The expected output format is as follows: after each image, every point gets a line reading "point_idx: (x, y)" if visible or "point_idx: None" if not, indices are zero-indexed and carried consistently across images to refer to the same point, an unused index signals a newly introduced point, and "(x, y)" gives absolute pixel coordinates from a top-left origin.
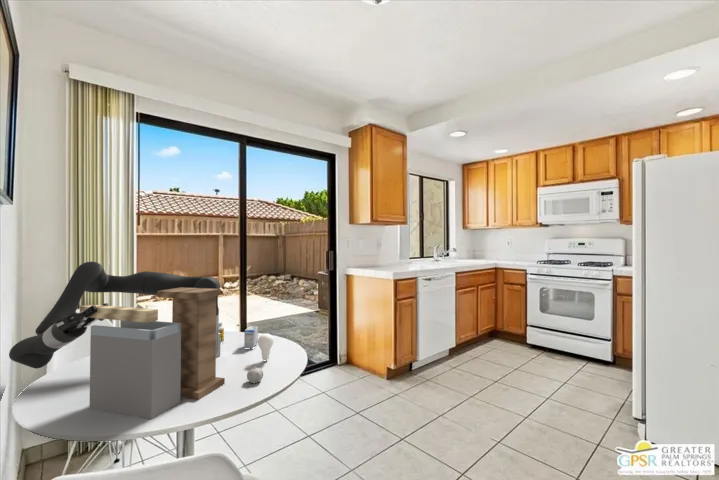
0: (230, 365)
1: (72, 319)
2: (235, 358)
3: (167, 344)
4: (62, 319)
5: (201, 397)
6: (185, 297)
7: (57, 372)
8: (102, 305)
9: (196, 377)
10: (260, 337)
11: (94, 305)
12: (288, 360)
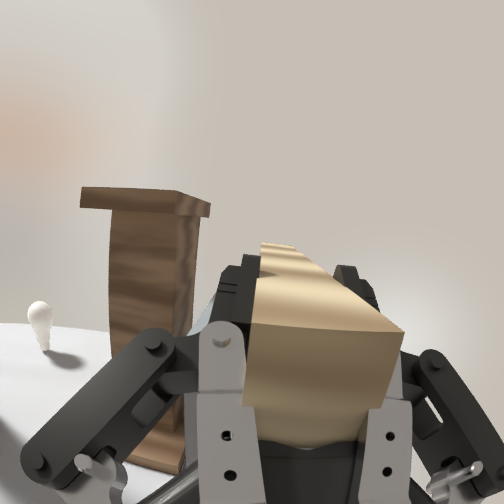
0: (42, 384)
1: (410, 480)
2: (6, 377)
3: None
4: (488, 431)
5: None
6: (201, 213)
7: None
8: (265, 275)
9: None
10: (42, 310)
11: (342, 266)
12: (56, 334)
